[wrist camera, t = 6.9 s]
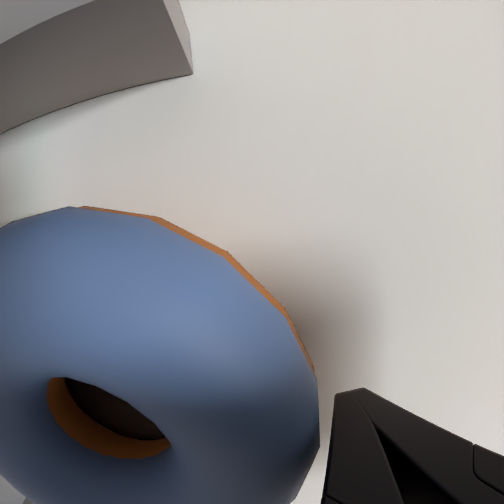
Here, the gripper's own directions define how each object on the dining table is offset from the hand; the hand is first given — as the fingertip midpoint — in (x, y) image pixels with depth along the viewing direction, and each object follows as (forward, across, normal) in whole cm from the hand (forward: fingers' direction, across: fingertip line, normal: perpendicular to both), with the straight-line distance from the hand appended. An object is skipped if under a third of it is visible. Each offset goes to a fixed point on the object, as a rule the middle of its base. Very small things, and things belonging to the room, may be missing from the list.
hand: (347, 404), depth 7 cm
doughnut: (+2, +6, 0) cm, 6 cm away
